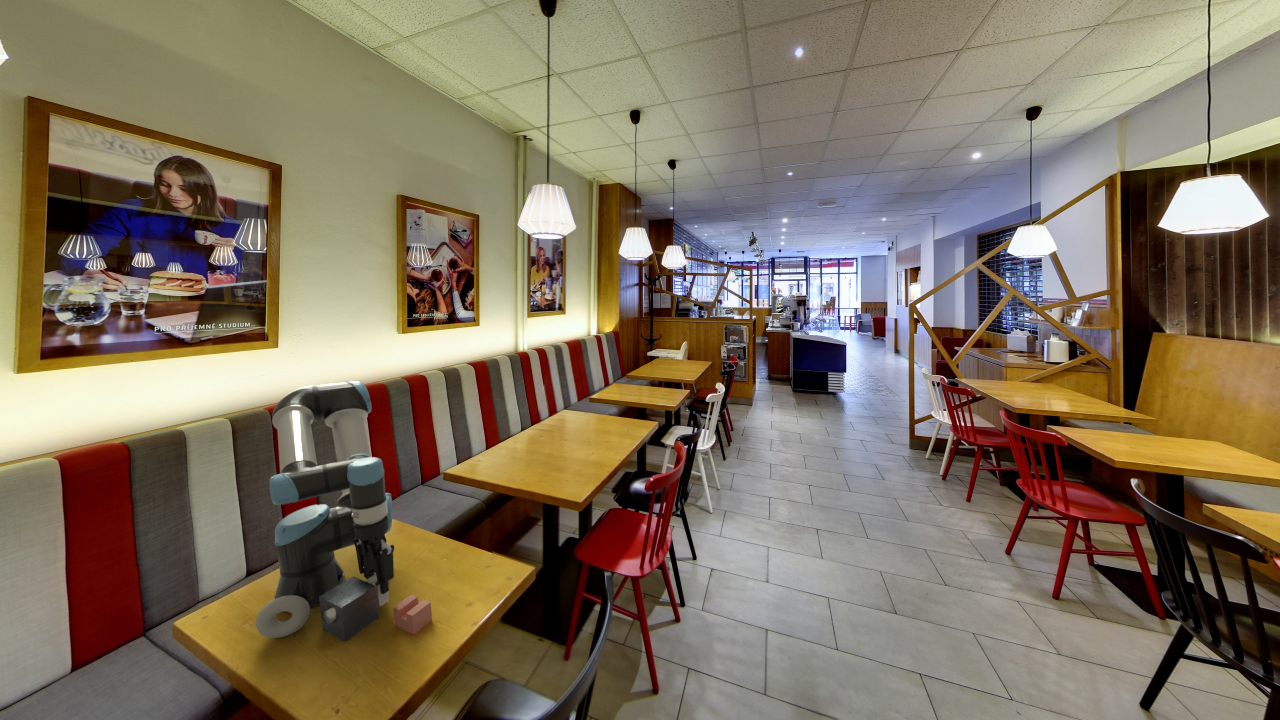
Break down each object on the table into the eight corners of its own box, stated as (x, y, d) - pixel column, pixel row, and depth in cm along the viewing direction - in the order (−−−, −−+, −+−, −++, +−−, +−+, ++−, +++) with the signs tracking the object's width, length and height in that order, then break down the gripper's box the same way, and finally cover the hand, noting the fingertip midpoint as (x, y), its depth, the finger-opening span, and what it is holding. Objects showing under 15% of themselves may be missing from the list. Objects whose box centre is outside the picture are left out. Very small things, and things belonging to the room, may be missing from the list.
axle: (323, 620, 96) (323, 609, 95) (381, 583, 108) (381, 574, 108) (331, 625, 95) (331, 614, 94) (389, 588, 107) (389, 578, 107)
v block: (394, 625, 99) (392, 607, 99) (413, 611, 104) (411, 594, 103) (413, 634, 97) (412, 616, 96) (432, 619, 101) (430, 601, 100)
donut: (256, 648, 93) (250, 609, 92) (261, 637, 96) (255, 600, 95) (310, 632, 98) (305, 595, 96) (313, 622, 101) (309, 586, 99)
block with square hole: (322, 629, 98) (318, 596, 97) (356, 607, 105) (353, 576, 104) (345, 642, 95) (341, 607, 93) (379, 618, 102) (375, 585, 101)
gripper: (336, 518, 103) (345, 601, 106) (376, 532, 96) (385, 620, 100) (366, 505, 110) (374, 583, 113) (405, 517, 103) (412, 600, 106)
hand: (379, 600), depth 106 cm, fingers closed on axle, 3 cm apart
